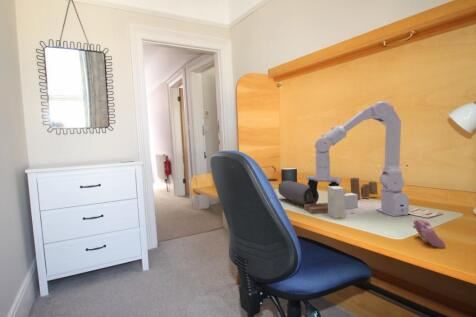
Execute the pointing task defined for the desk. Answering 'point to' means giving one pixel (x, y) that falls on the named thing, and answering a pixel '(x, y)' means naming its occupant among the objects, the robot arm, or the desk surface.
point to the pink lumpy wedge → (428, 233)
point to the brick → (351, 200)
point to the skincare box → (336, 202)
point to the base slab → (316, 208)
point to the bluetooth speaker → (297, 193)
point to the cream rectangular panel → (349, 213)
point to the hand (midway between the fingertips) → (323, 198)
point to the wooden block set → (363, 188)
